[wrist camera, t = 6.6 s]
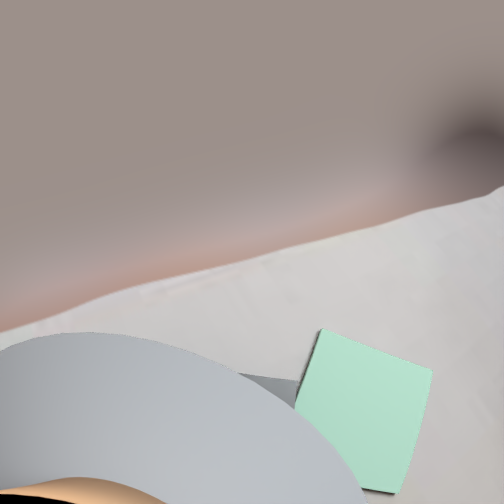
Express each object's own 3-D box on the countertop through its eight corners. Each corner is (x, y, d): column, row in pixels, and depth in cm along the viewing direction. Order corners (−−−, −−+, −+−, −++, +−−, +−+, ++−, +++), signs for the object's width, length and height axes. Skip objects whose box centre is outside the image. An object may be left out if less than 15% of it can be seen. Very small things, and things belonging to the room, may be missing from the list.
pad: (395, 493, 14) (398, 493, 14) (268, 462, 15) (269, 463, 15) (430, 371, 19) (433, 370, 19) (320, 330, 20) (322, 328, 20)
